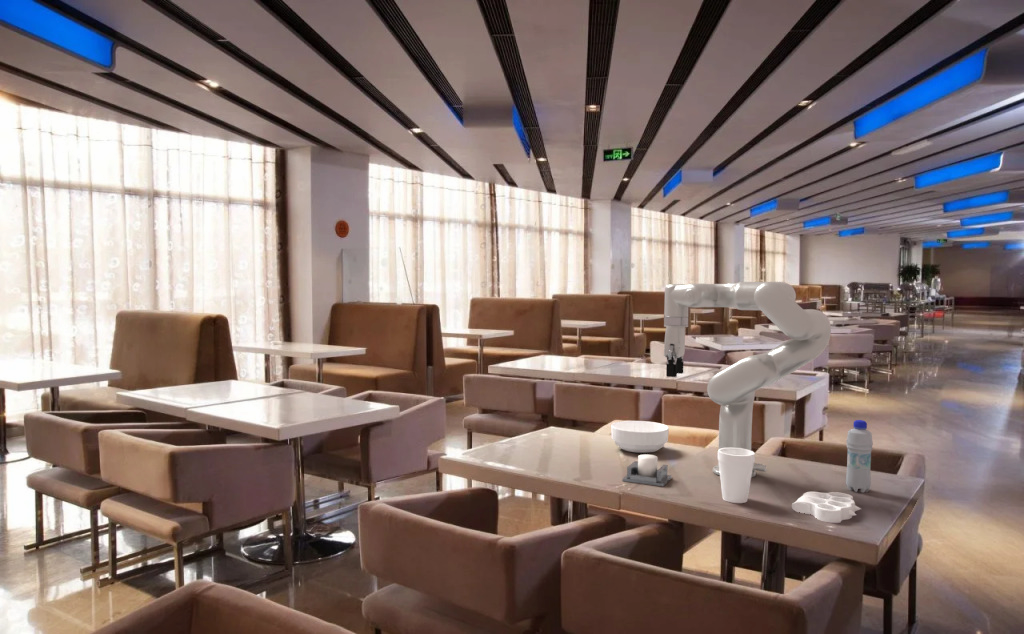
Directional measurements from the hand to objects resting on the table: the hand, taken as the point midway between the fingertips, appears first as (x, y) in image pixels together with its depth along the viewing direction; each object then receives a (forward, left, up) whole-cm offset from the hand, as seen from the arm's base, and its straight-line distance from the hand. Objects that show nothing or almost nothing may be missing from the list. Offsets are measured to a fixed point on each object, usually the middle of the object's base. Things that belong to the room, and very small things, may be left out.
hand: (674, 374), depth 227 cm
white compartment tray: (-47, +32, -29) cm, 64 cm away
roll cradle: (+2, +25, -28) cm, 38 cm away
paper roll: (+2, +25, -28) cm, 37 cm away
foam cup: (-24, +33, -28) cm, 50 cm away
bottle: (-54, +8, -28) cm, 62 cm away
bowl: (+14, -10, -29) cm, 33 cm away
